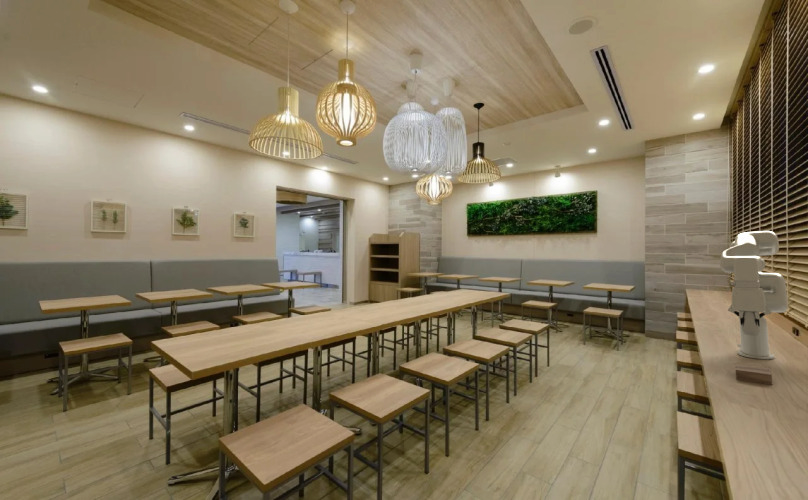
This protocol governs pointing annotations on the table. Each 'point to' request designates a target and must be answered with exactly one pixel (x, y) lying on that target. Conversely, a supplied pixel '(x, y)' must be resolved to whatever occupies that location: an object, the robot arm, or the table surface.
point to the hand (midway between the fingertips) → (750, 327)
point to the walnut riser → (753, 374)
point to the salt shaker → (750, 324)
